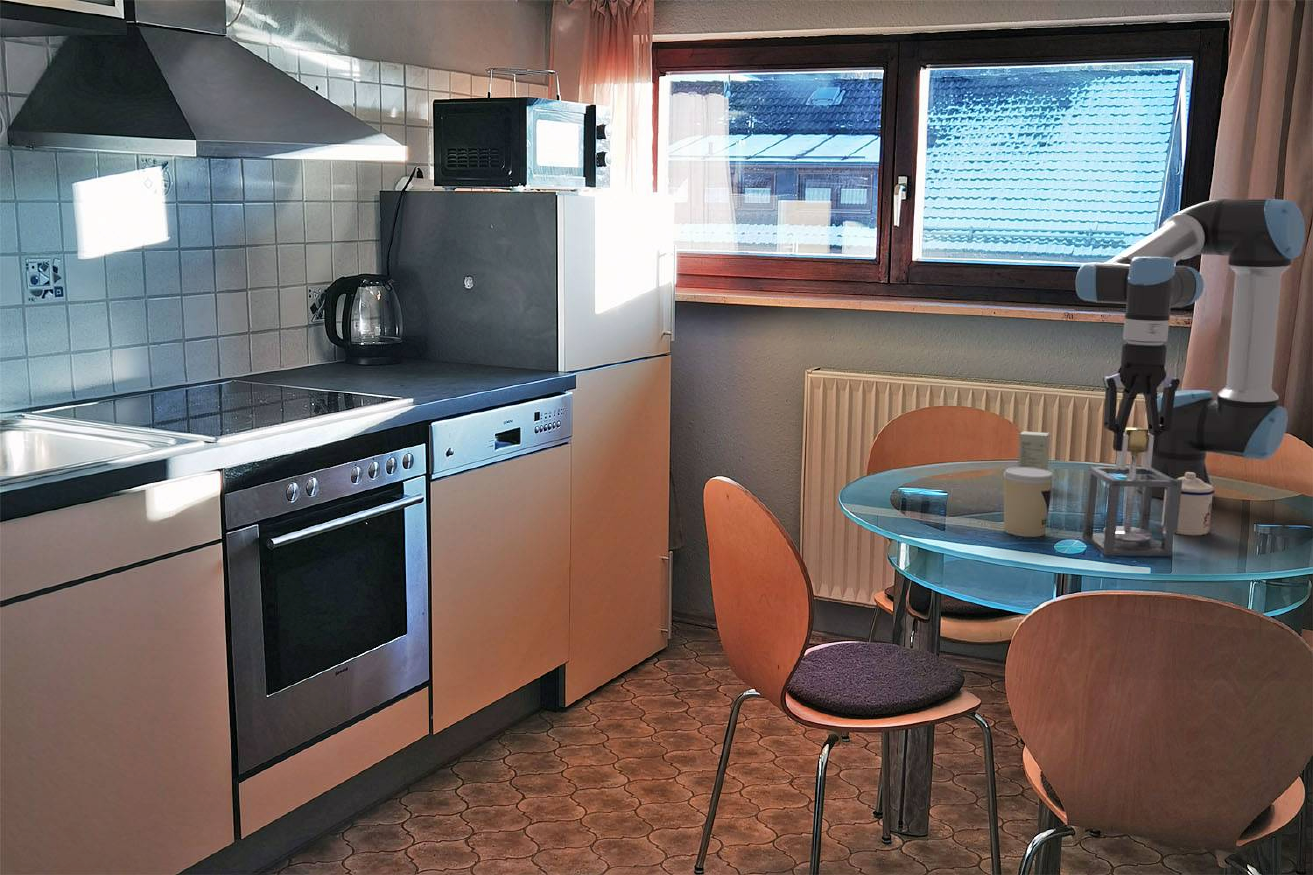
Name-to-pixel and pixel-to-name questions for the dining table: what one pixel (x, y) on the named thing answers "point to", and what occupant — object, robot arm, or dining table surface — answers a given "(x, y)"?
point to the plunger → (1135, 446)
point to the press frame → (1171, 515)
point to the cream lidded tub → (1026, 500)
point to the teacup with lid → (1193, 506)
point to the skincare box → (1033, 450)
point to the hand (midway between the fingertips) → (1133, 468)
